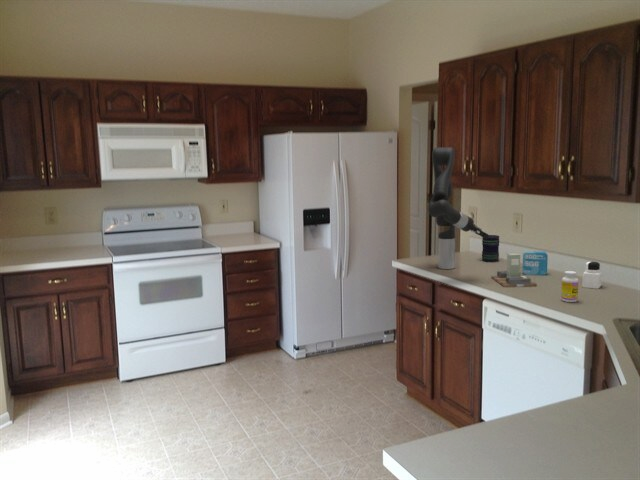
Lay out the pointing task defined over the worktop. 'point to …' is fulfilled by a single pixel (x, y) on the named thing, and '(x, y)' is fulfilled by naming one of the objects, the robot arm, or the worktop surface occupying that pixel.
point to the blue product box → (535, 263)
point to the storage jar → (490, 249)
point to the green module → (513, 265)
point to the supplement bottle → (569, 287)
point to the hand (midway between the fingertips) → (484, 233)
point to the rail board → (503, 282)
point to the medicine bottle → (592, 275)
